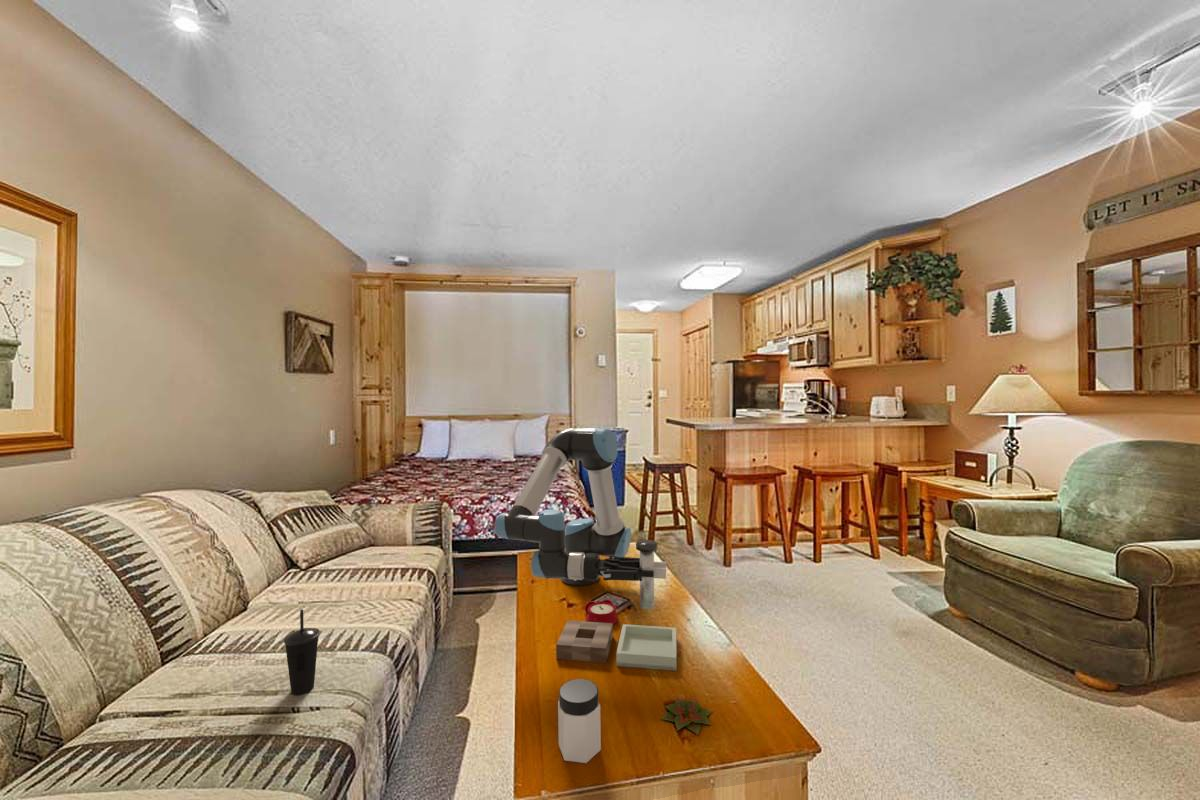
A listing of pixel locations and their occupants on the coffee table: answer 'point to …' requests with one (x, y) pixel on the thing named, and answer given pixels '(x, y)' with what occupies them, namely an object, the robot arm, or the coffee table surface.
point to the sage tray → (647, 647)
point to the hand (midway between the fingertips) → (665, 570)
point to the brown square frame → (585, 641)
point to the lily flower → (688, 707)
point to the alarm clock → (601, 612)
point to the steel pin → (647, 583)
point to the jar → (579, 720)
